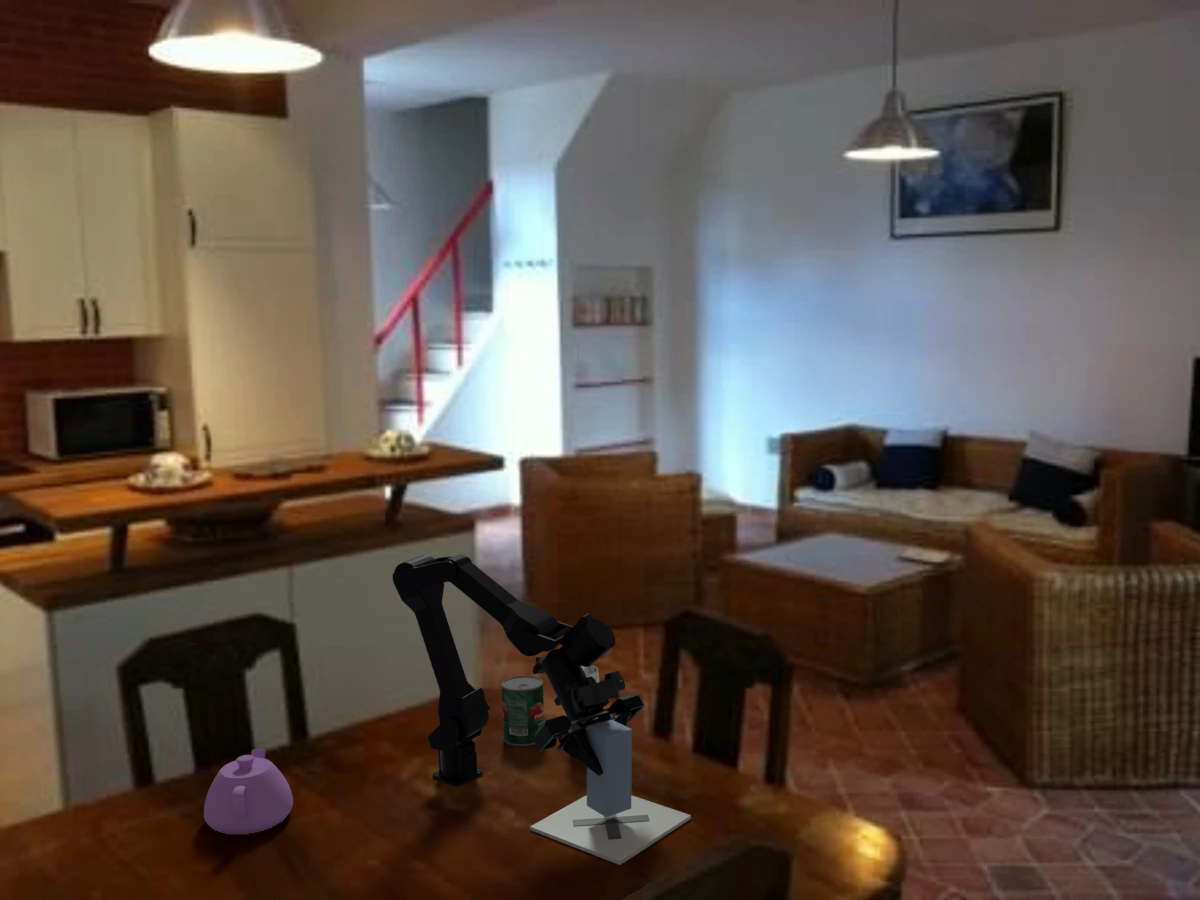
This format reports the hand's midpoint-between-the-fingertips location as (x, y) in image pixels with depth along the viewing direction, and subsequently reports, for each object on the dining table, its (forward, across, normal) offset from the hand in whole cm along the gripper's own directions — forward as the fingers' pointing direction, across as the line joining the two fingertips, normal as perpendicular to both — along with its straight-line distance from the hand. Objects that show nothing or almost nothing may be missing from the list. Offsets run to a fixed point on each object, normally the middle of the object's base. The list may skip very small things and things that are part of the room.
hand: (614, 769), depth 174 cm
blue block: (+4, 0, +6) cm, 7 cm away
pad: (+6, 0, +8) cm, 10 cm away
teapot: (-23, -42, +37) cm, 61 cm away
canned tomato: (-20, +9, +35) cm, 41 cm away
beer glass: (-13, +15, +27) cm, 33 cm away
